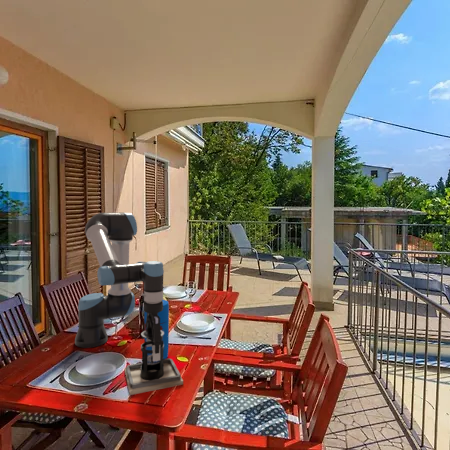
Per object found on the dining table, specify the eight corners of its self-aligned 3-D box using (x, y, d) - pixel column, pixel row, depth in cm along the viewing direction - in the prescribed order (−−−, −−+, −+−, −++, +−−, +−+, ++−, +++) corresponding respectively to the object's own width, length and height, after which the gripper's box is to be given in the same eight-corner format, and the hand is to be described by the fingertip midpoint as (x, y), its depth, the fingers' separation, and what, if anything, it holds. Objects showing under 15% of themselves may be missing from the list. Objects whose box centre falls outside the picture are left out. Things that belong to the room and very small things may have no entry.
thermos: (147, 363, 145) (147, 307, 144) (141, 353, 155) (141, 300, 153) (171, 359, 150) (172, 304, 149) (164, 349, 160) (164, 298, 158)
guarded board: (124, 371, 138) (124, 364, 138) (171, 363, 146) (171, 356, 146) (130, 395, 122) (130, 387, 122) (183, 384, 130) (183, 377, 129)
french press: (153, 383, 127) (154, 324, 125) (133, 377, 131) (134, 320, 129) (171, 369, 138) (171, 315, 136) (152, 364, 142) (152, 311, 140)
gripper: (138, 293, 142) (138, 341, 143) (149, 311, 119) (149, 369, 120) (156, 291, 145) (156, 339, 146) (170, 309, 122) (169, 365, 123)
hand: (153, 353), depth 133 cm, fingers open, 13 cm apart
